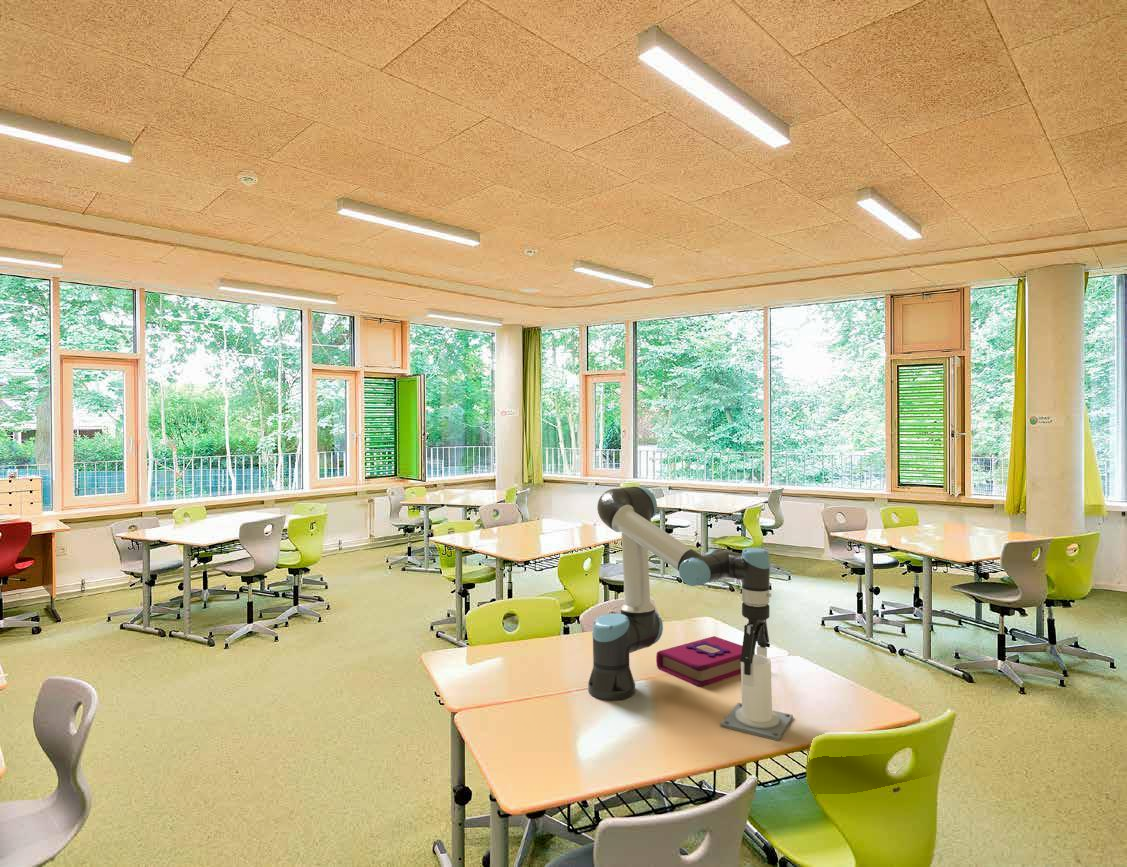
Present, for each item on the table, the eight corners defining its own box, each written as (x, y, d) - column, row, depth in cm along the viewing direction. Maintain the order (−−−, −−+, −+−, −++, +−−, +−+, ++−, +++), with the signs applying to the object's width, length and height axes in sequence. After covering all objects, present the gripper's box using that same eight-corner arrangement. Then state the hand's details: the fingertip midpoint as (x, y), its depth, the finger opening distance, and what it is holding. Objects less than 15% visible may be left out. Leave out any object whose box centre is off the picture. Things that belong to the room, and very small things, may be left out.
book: (656, 669, 221) (655, 647, 221) (711, 653, 237) (711, 633, 237) (700, 689, 203) (699, 665, 204) (756, 670, 219) (756, 648, 219)
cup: (770, 710, 182) (768, 655, 182) (774, 723, 174) (772, 665, 174) (741, 708, 184) (739, 653, 184) (743, 721, 176) (741, 663, 176)
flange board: (720, 726, 176) (720, 720, 176) (738, 705, 190) (738, 699, 190) (779, 740, 168) (778, 734, 168) (792, 717, 181) (792, 711, 181)
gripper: (756, 616, 166) (756, 695, 167) (780, 595, 187) (779, 665, 188) (728, 611, 170) (728, 689, 171) (754, 591, 191) (754, 660, 192)
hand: (755, 677), depth 179 cm, fingers open, 13 cm apart
